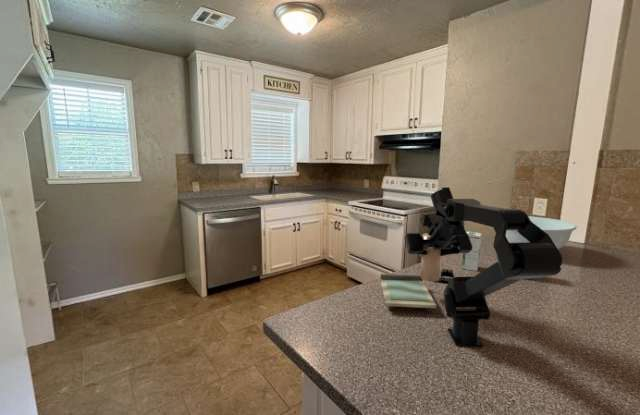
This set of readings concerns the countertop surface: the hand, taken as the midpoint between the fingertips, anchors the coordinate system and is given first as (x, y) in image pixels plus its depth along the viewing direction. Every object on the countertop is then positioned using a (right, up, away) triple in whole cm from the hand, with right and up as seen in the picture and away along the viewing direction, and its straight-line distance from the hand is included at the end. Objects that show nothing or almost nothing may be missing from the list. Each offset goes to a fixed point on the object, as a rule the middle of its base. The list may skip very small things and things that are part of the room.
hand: (429, 255), depth 95 cm
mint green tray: (-8, -14, -1) cm, 16 cm away
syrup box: (+26, -9, +25) cm, 38 cm away
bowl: (+65, -6, +46) cm, 80 cm away
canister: (0, -7, 0) cm, 7 cm away
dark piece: (+11, -12, +13) cm, 21 cm away
